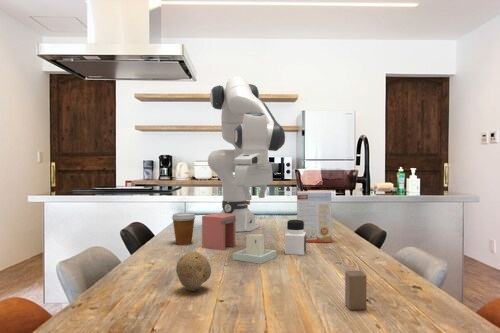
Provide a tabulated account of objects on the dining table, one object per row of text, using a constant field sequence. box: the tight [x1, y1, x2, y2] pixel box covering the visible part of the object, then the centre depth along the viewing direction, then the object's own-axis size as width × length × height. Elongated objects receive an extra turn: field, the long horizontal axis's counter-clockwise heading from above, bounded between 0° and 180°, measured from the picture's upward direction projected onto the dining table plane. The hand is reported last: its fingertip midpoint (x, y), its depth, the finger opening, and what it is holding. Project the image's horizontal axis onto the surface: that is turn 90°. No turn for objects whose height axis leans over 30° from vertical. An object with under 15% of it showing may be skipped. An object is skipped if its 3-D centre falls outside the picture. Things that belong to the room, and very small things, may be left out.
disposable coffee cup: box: [171, 212, 196, 246], centre depth 167 cm, size 10×10×12 cm
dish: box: [232, 248, 277, 265], centre depth 141 cm, size 11×11×2 cm
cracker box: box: [296, 190, 333, 243], centre depth 171 cm, size 14×6×21 cm, turn 84°
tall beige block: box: [245, 233, 265, 256], centre depth 141 cm, size 4×5×7 cm
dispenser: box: [201, 213, 237, 251], centre depth 160 cm, size 9×10×12 cm
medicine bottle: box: [284, 218, 307, 256], centre depth 150 cm, size 7×7×12 cm
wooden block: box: [344, 270, 368, 311], centre depth 94 cm, size 4×4×8 cm
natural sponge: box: [175, 251, 212, 292], centre depth 107 cm, size 9×9×10 cm
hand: (255, 199), depth 141 cm, fingers open, 8 cm apart
